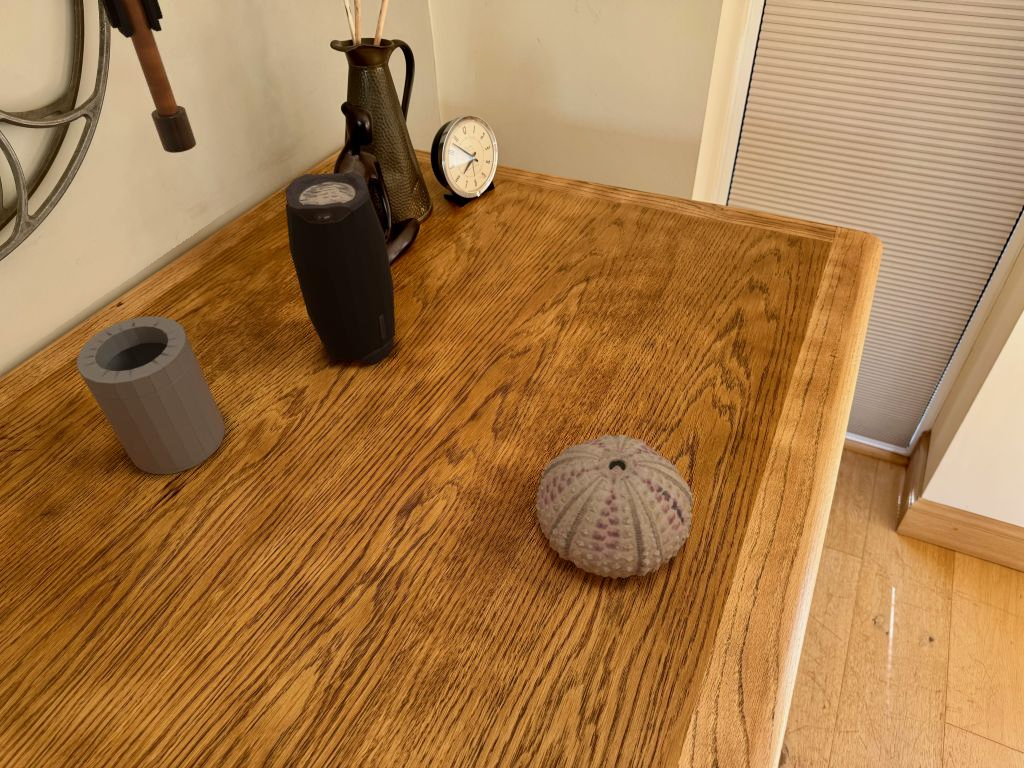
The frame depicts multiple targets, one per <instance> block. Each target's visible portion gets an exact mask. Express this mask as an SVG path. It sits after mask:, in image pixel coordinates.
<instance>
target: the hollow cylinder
mask: <svg viewBox="0 0 1024 768" xmlns="http://www.w3.org/2000/svg"><path fill="white" fill-rule="evenodd" d="M76 368H77V371H78V373H79V375H80V376H81V378H82V380H83V382H84V384H85V385H86V387H87V389H88V390H89V391H90V393H91V395H92V396H93V398H94V400H95V402H96V403H97V405H98V407H99V409H100V410H101V412H102V414H103V415H104V417H105V418H106V420H107V422H108V423H109V425H110V427H111V429H112V430H113V432H114V434H115V435H116V437H117V438H118V440H119V443H120V444H121V446H122V447H123V449H124V450H125V452H126V454H127V456H128V457H129V459H130V460H131V461H132V463H133V464H134V465H135V467H137V468H138V469H139V470H141V471H143V472H145V473H148V474H153V475H171V474H176V473H177V474H178V473H180V472H181V473H182V472H184V471H187V470H189V469H192V468H194V467H197V466H198V465H200V464H201V463H203V462H205V461H206V460H208V458H210V457H211V456H212V455H213V454H214V453H215V452H216V451H217V450H218V448H219V447H220V446H221V444H222V442H223V440H224V437H225V433H226V424H225V421H224V419H223V417H222V414H221V412H220V409H219V407H218V404H217V402H216V400H215V398H214V395H213V393H212V391H211V388H210V386H209V384H208V381H207V379H206V376H205V375H204V372H203V370H202V368H201V365H200V363H199V361H198V358H197V356H196V354H195V351H194V349H193V347H192V344H191V343H190V340H189V338H188V336H187V333H186V331H185V328H184V327H183V326H182V325H180V324H179V322H177V320H174V319H171V318H168V317H165V316H156V315H155V316H154V315H150V316H140V317H134V318H133V317H132V318H128V319H125V320H122V321H119V322H116V323H114V324H112V325H111V326H107V327H106V328H104V329H102V330H100V331H99V332H98V333H96V334H95V335H93V336H92V337H90V338H89V339H88V340H87V341H86V343H85V344H84V345H83V346H82V347H81V348H80V350H79V353H78V355H77V358H76Z"/></svg>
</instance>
